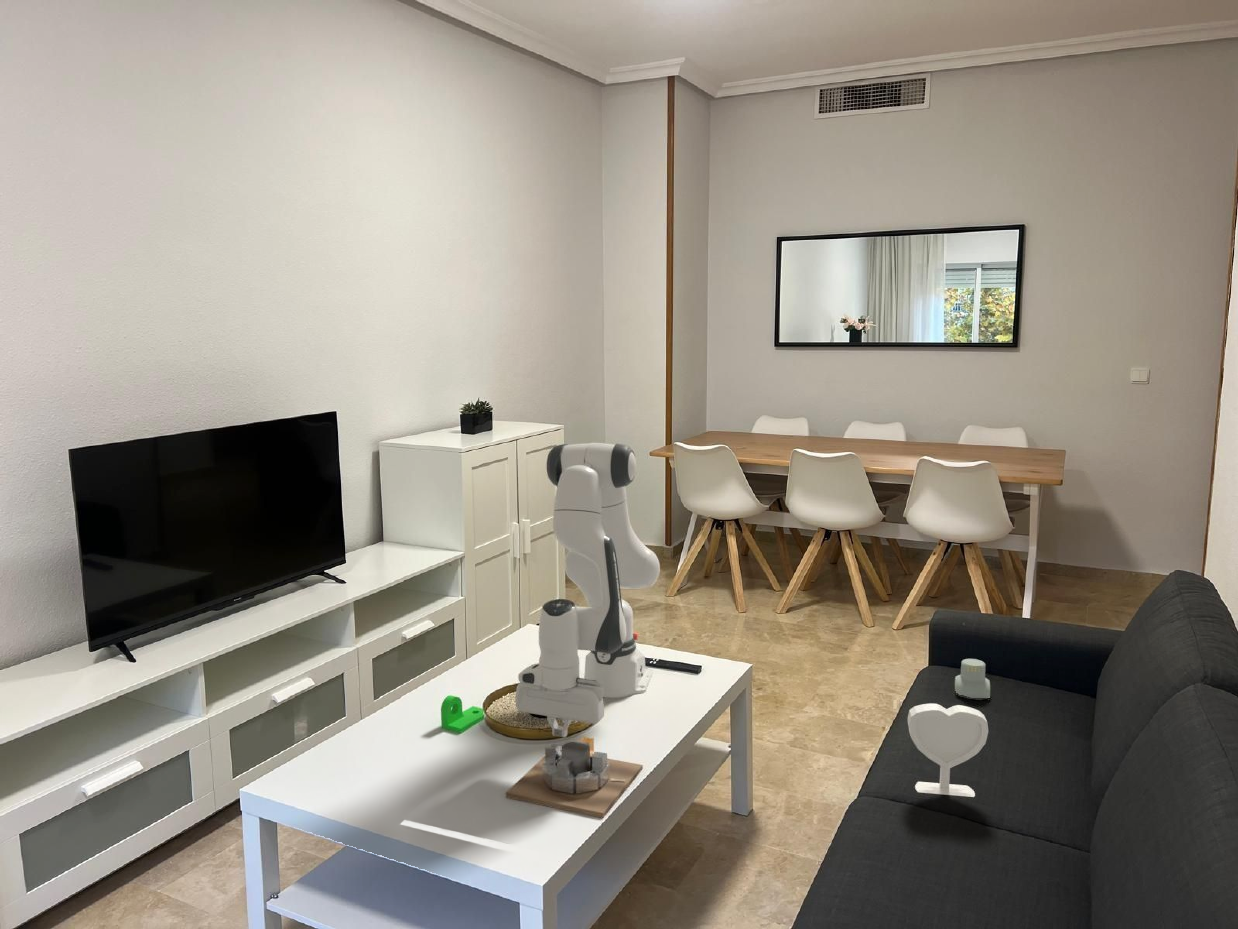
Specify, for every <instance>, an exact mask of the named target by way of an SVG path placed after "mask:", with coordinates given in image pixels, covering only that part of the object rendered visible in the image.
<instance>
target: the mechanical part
mask: <svg viewBox="0 0 1238 929" xmlns="http://www.w3.org/2000/svg"><path fill="white" fill-rule="evenodd" d="M483 709H484V708H482V707H478V706H474V705H473V706H470V707H469V708H467V709H465V710H464V711H463V702H462V699H461V698H460V697H458V696H455V695H450V694H449V695H447V696H446V697H445V698H444V699H443V701H442V703H441V706H440V719H441V721H440V722H441V724H440V725H441V729H444V730H447V731H451V732H453V733H456V734H463V733H464V732H466V731H468V730H470V729H471V728H472V727H474V726H475V725H477V724H479V723H480V722H482V721H483V720H485V719H484V714H483Z"/></svg>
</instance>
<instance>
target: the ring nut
mask: <svg viewBox="0 0 1238 929" xmlns="http://www.w3.org/2000/svg"><path fill="white" fill-rule="evenodd" d="M579 741H580V742H585V743H587V744H589V746H590V770H591V771H589V772H584V773H579V774H573V764H572V760H568V759H563V758H562V752H560V750H561V744H556V743H551V742H550V743H548V745H547V746H545V747H544V751H545V752H544V753H545V754H544V756H545V762H544V763H543V765H542V772H543V779H544V781H545V782H546V784H547V785H548V787H549V788H552V790H557V791H562V792H566V793H571V794H573V793H574V792H576V794H578V793H583V792H588V791H592V790H597V789H598V788H601V787H602V786H603V785H604V784H605V783H606V781H607V780H608V779H609V778H610V763H609V762H608V760H607V758H608V753H607V752H601V751H595V738H593V737H586V736H583V737H582V738H581V739H580V740H579Z"/></svg>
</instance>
